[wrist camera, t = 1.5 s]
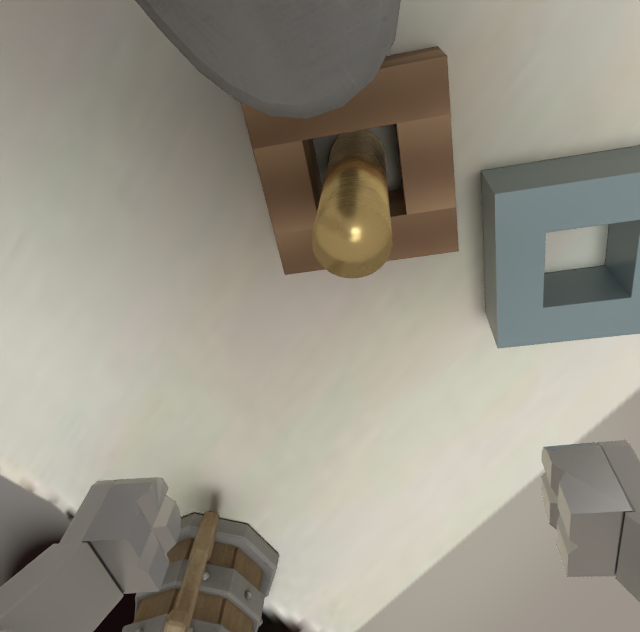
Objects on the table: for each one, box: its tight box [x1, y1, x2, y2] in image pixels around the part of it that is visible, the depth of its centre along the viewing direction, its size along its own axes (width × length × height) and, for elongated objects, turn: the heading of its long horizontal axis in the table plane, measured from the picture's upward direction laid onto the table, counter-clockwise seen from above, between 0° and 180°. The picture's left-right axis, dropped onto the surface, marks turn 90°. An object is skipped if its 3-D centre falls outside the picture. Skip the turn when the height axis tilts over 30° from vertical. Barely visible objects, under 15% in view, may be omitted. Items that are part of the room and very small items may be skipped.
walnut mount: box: [241, 46, 459, 275], centre depth 29 cm, size 10×10×4 cm
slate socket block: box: [481, 145, 640, 348], centre depth 31 cm, size 10×10×4 cm
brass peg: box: [312, 130, 392, 278], centre depth 26 cm, size 3×3×12 cm
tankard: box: [122, 511, 279, 632], centre depth 46 cm, size 20×13×15 cm, turn 168°
